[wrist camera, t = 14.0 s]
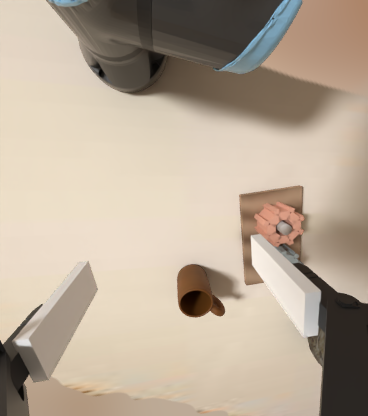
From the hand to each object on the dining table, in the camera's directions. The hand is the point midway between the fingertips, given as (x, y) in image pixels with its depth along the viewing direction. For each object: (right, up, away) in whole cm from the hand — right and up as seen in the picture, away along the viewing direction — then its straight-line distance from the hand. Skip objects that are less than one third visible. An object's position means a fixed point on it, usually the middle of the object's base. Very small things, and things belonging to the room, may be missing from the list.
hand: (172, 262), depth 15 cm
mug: (+5, -14, +35) cm, 38 cm away
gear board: (+22, -3, +32) cm, 39 cm away
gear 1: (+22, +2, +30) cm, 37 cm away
